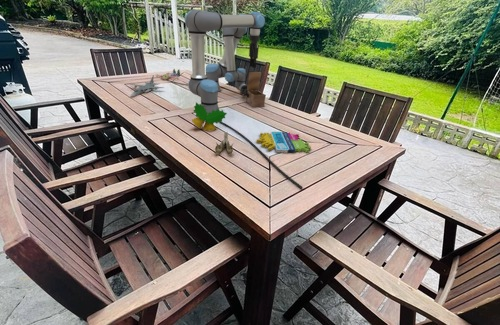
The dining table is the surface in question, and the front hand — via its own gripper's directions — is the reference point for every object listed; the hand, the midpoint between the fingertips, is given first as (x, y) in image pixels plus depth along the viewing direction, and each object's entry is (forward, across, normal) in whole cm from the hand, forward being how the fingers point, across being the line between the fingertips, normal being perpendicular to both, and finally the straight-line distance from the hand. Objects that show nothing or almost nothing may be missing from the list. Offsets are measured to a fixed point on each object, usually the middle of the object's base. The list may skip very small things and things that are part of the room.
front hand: (252, 67), depth 211 cm
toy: (+28, +98, +53) cm, 115 cm away
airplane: (+28, +44, +82) cm, 97 cm away
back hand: (+21, -8, 0) cm, 23 cm away
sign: (+28, -84, +15) cm, 90 cm away
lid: (+10, -6, 0) cm, 12 cm away
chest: (+28, -10, 0) cm, 30 cm away
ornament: (+28, -52, +50) cm, 78 cm away
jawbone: (+28, -85, +50) cm, 103 cm away
